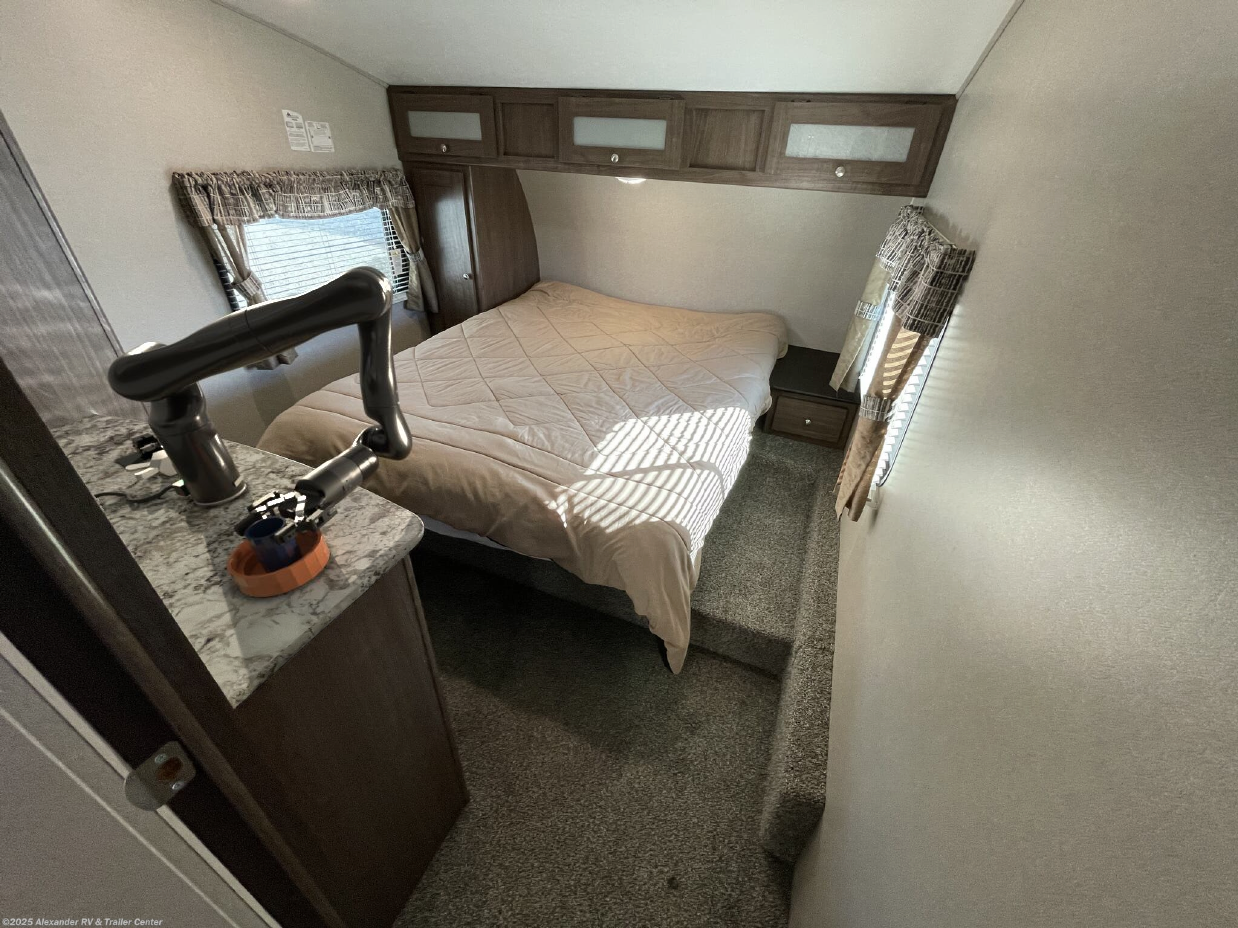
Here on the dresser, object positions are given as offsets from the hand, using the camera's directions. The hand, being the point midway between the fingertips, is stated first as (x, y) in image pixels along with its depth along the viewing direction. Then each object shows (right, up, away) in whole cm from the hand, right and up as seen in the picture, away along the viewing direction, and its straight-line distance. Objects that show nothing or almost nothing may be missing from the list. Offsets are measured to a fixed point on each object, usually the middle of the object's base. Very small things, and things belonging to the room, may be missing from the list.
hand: (256, 536), depth 81 cm
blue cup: (+1, -6, +6) cm, 9 cm away
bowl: (+1, -7, +6) cm, 9 cm away
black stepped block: (-58, +15, +42) cm, 73 cm away
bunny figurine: (-45, +10, +35) cm, 58 cm away
